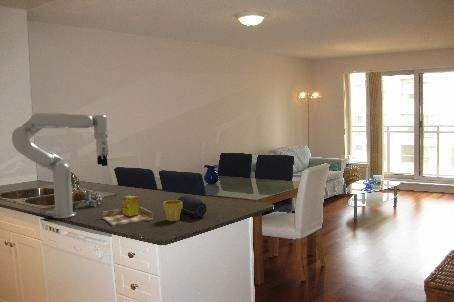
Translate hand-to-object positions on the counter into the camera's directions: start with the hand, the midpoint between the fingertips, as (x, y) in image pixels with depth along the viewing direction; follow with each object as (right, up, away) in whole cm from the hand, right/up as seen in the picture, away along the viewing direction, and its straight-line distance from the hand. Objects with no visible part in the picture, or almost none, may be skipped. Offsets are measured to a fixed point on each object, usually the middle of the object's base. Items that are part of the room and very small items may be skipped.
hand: (102, 165), depth 263 cm
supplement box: (+20, -28, -14) cm, 37 cm away
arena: (+18, -29, -16) cm, 38 cm away
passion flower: (-13, -27, +23) cm, 38 cm away
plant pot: (+44, -29, -21) cm, 57 cm away
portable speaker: (+53, -28, -10) cm, 61 cm away
